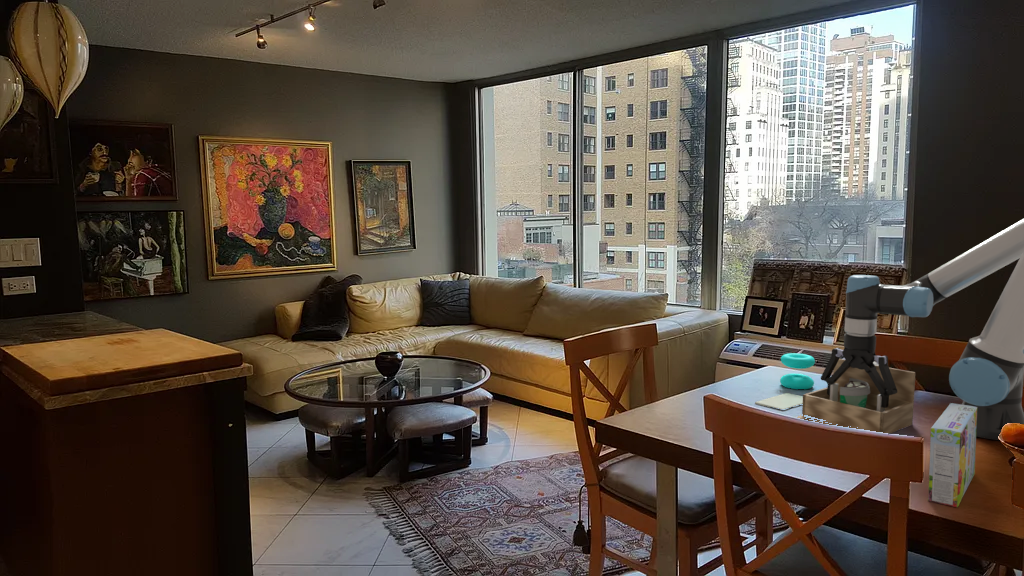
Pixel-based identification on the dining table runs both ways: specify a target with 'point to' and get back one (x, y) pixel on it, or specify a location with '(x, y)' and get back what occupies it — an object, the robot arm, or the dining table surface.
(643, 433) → the dining table surface
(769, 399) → the mat
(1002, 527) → the dining table surface
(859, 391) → the food container
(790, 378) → the donuts
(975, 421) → the snack box
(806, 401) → the wooden box
